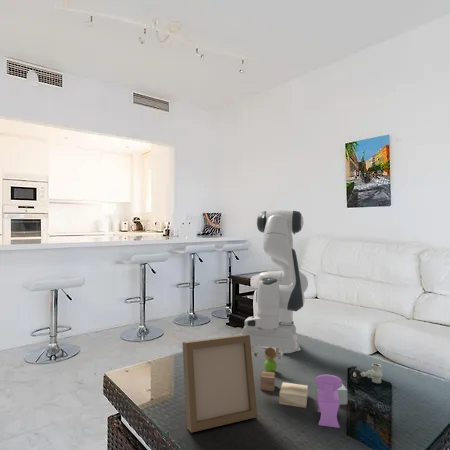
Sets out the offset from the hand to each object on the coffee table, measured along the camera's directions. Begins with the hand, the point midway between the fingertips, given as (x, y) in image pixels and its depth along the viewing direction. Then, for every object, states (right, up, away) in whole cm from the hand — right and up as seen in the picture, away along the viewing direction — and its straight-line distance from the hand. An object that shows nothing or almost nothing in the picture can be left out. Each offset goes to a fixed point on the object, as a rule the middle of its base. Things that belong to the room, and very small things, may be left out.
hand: (267, 358), depth 130 cm
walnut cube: (0, -11, 0) cm, 11 cm away
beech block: (+8, -12, -9) cm, 17 cm away
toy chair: (+17, -11, -21) cm, 29 cm away
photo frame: (-19, -11, -20) cm, 30 cm away
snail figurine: (+4, -12, +15) cm, 19 cm away
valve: (+40, -12, +6) cm, 43 cm away
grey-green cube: (+23, -11, -9) cm, 28 cm away
